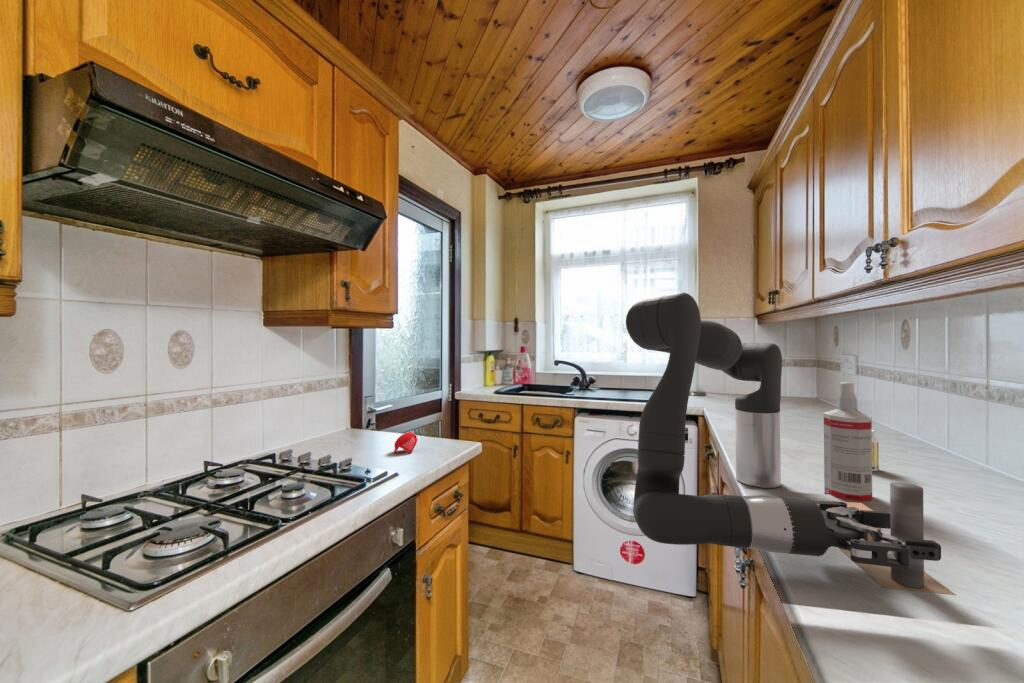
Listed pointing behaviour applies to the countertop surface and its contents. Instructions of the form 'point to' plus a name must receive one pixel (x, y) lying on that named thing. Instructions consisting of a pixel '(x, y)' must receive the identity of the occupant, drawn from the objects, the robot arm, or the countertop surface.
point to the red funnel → (406, 442)
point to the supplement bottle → (875, 453)
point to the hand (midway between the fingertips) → (913, 534)
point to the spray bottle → (848, 449)
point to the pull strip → (911, 526)
